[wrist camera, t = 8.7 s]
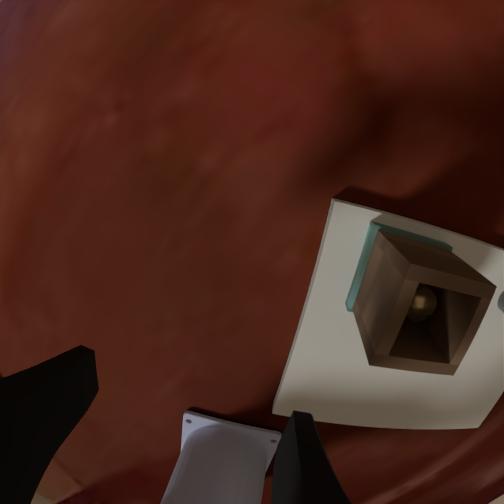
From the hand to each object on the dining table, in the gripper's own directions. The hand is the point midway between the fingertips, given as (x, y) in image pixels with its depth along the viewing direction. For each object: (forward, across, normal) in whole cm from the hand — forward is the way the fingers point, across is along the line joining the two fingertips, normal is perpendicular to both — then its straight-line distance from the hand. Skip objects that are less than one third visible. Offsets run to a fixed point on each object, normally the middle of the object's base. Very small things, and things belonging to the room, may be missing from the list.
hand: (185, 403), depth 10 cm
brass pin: (+9, -9, -4) cm, 13 cm away
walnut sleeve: (+9, -9, -4) cm, 13 cm away
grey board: (+10, -14, +1) cm, 17 cm away
